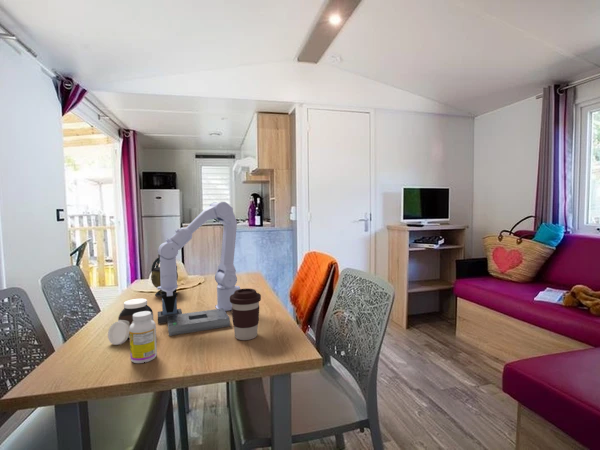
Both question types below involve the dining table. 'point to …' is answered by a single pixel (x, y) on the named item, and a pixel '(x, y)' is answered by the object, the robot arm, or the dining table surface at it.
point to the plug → (165, 308)
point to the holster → (163, 318)
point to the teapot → (157, 275)
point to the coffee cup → (245, 313)
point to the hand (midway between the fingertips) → (169, 310)
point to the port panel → (197, 321)
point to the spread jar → (127, 320)
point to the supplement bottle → (142, 338)
